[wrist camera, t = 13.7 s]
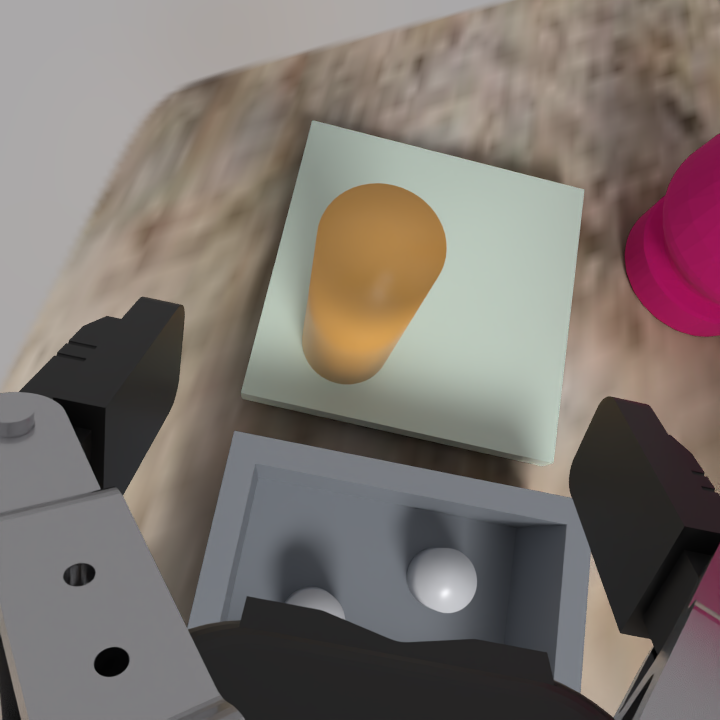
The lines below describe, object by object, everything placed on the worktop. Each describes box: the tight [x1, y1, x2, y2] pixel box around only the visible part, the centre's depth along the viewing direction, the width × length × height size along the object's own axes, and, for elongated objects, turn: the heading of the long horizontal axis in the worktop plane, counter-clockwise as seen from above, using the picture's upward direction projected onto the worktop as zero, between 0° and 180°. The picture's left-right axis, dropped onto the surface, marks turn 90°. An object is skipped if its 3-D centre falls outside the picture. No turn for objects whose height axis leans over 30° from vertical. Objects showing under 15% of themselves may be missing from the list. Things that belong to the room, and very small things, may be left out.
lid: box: [241, 120, 584, 466], centre depth 22 cm, size 11×11×10 cm
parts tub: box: [187, 431, 591, 693], centre depth 20 cm, size 11×11×5 cm
